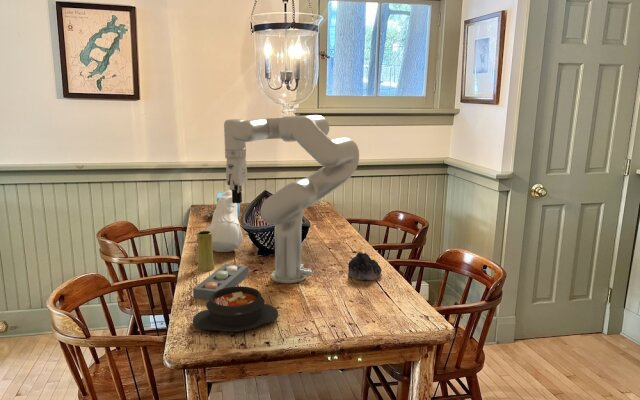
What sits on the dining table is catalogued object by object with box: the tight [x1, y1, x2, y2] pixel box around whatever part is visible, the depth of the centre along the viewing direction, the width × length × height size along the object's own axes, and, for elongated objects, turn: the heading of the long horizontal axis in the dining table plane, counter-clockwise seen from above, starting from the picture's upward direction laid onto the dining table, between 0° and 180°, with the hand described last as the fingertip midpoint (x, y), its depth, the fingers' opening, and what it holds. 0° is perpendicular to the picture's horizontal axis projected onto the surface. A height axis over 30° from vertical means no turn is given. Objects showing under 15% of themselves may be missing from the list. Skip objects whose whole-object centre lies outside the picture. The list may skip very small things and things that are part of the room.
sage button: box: [216, 271, 228, 280], centre depth 175 cm, size 4×4×3 cm
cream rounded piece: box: [226, 266, 237, 272], centre depth 182 cm, size 4×4×3 cm
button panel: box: [192, 263, 249, 302], centre depth 175 cm, size 9×24×4 cm, turn 165°
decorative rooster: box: [204, 189, 243, 253], centre depth 214 cm, size 25×16×25 cm
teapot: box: [216, 190, 241, 218], centre depth 262 cm, size 22×11×14 cm, turn 8°
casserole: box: [192, 285, 279, 333], centre depth 149 cm, size 25×19×8 cm
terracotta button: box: [205, 282, 218, 289], centre depth 167 cm, size 4×4×3 cm
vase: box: [196, 230, 215, 272], centre depth 190 cm, size 6×6×14 cm
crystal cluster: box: [347, 252, 382, 281], centre depth 186 cm, size 13×14×10 cm
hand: (237, 202), depth 188 cm, fingers closed
